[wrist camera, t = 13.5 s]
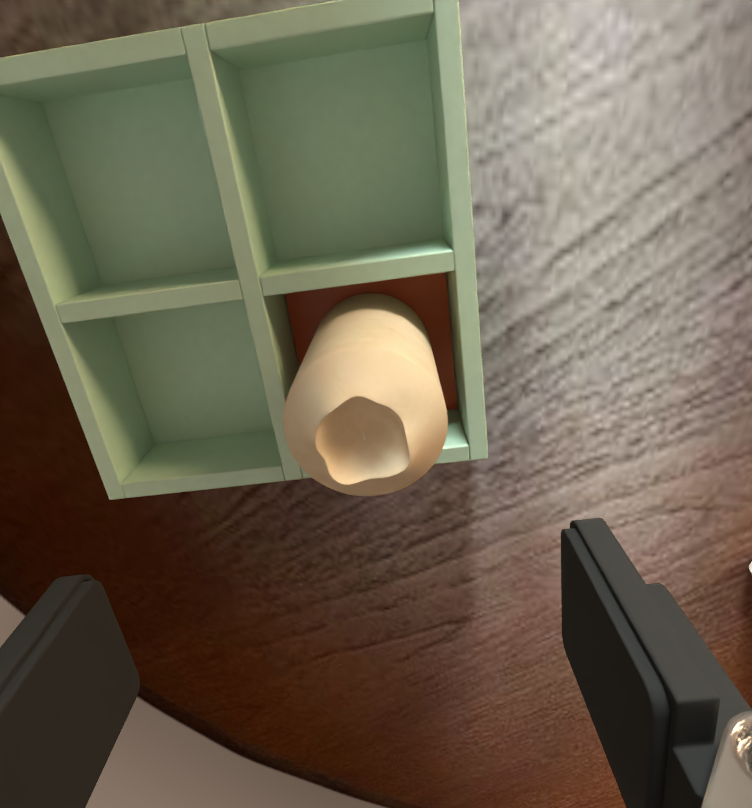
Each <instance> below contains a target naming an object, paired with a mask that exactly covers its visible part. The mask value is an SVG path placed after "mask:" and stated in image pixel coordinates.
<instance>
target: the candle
mask: <svg viewBox="0 0 752 808" xmlns="http://www.w3.org/2000/svg"><path fill="white" fill-rule="evenodd" d="M283 427H284V434H285V438H286V442H287V444H288V447H289V449H290V451H291V453H292V455H293V457H294V458H295V460H296V461H297V463H298V464H299V465H300V466H301V468H302V469H303V470H304V471H305V472H306V473H307V474H308V475H310V476H311V477H312V478H313V479H315V480H316V481H318V482H319V483H321V484H323V485H324V486H326V487H329V488H331V489H333V490H336V491H339V492H342V493H346V494H350V495H357V496H376V495H384V494H388V493H392V492H395V491H398V490H400V489H403V488H405V487H407V486H409V485H411V484H412V483H414V482H415V481H417V480H418V479H420V478H421V477H422V476H423V475H424V474H425V473H427V471H428V470H429V469H430V468H431V467H432V466H433V465H434V463H435V462H436V460H437V459H438V457H439V455H440V453H441V451H442V449H443V446H444V443H445V440H446V435H447V430H448V417H447V409H446V405H445V401H444V397H443V393H442V388H441V384H440V380H439V376H438V372H437V368H436V364H435V360H434V356H433V352H432V348H431V344H430V340H429V336H428V333H427V331H426V328H425V326H424V324H423V322H422V321H421V319H420V318H419V316H418V315H417V314H416V313H415V312H414V311H413V310H412V309H411V308H410V307H409V306H407V305H406V304H405V303H403V302H402V301H400V300H398V299H396V298H394V297H391V296H388V295H384V294H377V293H365V294H359V295H355V296H352V297H349V298H347V299H345V300H343V301H341V302H340V303H338V304H336V305H335V306H334V307H333V308H332V309H330V311H329V312H328V313H327V314H326V315H325V316H324V318H323V319H322V321H321V322H320V324H319V326H318V328H317V330H316V332H315V334H314V336H313V339H312V341H311V343H310V345H309V348H308V350H307V352H306V355H305V357H304V359H303V361H302V364H301V366H300V368H299V370H298V373H297V375H296V377H295V379H294V382H293V384H292V386H291V389H290V391H289V393H288V396H287V399H286V402H285V407H284V412H283Z"/></svg>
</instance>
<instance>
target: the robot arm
mask: <svg viewBox="0 0 752 808" xmlns="http://www.w3.org/2000/svg"><path fill="white" fill-rule="evenodd" d="M561 589H562V638H563V644H564V648H565V651H566V654H567V657H568V659H569V662H570V665H571V667H572V670H573V672H574V675H575V677H576V680H577V682H578V685H579V687H580V690H581V693H582V695H583V698H584V700H585V703H586V705H587V708H588V710H589V713H590V716H591V718H592V721H593V723H594V726H595V728H596V731H597V733H598V736H599V738H600V741H601V744H602V746H603V749H604V751H605V754H606V756H607V759H608V761H609V764H610V767H611V769H612V772H613V774H614V777H615V779H616V782H617V784H618V787H619V789H620V792H621V795H622V797H623V800H624V802H625V805H626V807H627V808H752V709H751V708H750V707H749V705H748V704H747V702H746V701H745V699H744V698H743V697H742V695H741V694H740V692H739V691H738V689H737V688H736V687H735V685H734V684H733V682H732V681H731V679H730V678H729V677H728V675H727V674H726V672H725V671H724V669H723V668H722V667H721V665H720V664H719V662H718V661H717V659H716V658H715V656H714V655H713V654H712V652H711V651H710V649H709V648H708V646H707V645H706V644H705V642H704V641H703V639H702V638H701V636H700V635H699V634H698V632H697V631H696V629H695V628H694V626H693V625H692V624H691V622H690V621H689V619H688V618H687V616H686V615H685V614H684V612H683V611H682V609H681V608H680V606H679V605H678V604H677V602H676V601H675V599H674V598H673V596H672V595H671V594H670V592H669V591H668V590H667V589H666V587H665V586H664V585H662V584H660V583H653V584H645V582H644V580H643V579H642V577H641V576H640V574H639V573H638V571H637V570H636V568H635V567H634V565H633V564H632V562H631V561H630V559H629V558H628V556H627V555H626V553H625V551H624V550H623V548H622V547H621V545H620V544H619V542H618V541H617V539H616V538H615V536H614V535H613V533H612V532H611V530H610V529H609V527H608V525H607V524H606V522H605V521H604V520H603V519H602V518H593V519H584V520H575V521H572V522H571V523H570V529H563V530H562V531H561ZM139 687H140V677H139V674H138V671H137V669H136V666H135V664H134V661H133V659H132V656H131V654H130V652H129V649H128V647H127V644H126V642H125V639H124V637H123V634H122V632H121V629H120V627H119V625H118V622H117V620H116V617H115V615H114V612H113V610H112V607H111V605H110V602H109V600H108V598H107V595H106V593H105V590H104V588H103V586H102V584H101V582H99V581H96V580H94V578H93V577H92V576H91V575H88V574H84V575H74V576H65V577H60V578H57V579H56V580H55V581H54V582H53V583H52V584H51V585H50V587H49V588H48V589H47V590H46V592H45V593H44V594H43V595H42V597H41V598H40V599H39V600H38V602H37V603H36V604H35V605H34V607H33V608H32V609H31V610H30V612H29V613H28V614H27V615H26V616H25V618H24V619H23V620H22V622H21V623H20V624H19V625H18V627H17V628H16V629H15V630H14V631H13V633H12V634H11V635H10V637H9V638H8V639H7V640H6V641H5V643H4V644H3V645H2V646H1V648H0V808H85V807H86V804H87V802H88V800H89V798H90V796H91V793H92V792H93V789H94V787H95V785H96V783H97V781H98V779H99V776H100V774H101V772H102V770H103V768H104V766H105V764H106V762H107V759H108V757H109V755H110V753H111V750H112V749H113V746H114V744H115V742H116V740H117V738H118V736H119V734H120V732H121V729H122V727H123V725H124V723H125V721H126V719H127V716H128V714H129V712H130V710H131V708H132V706H133V704H134V702H135V699H136V697H137V695H138V692H139Z"/></svg>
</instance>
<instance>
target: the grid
mask: <svg viewBox="0 0 752 808" xmlns="http://www.w3.org/2000/svg"><path fill="white" fill-rule="evenodd" d="M0 214H1V217H2V219H3V222H4V225H5V227H6V230H7V232H8V235H9V238H10V240H11V243H12V246H13V248H14V251H15V253H16V256H17V259H18V261H19V264H20V267H21V269H22V272H23V274H24V277H25V280H26V282H27V285H28V287H29V290H30V293H31V295H32V298H33V301H34V303H35V306H36V308H37V311H38V314H39V316H40V319H41V322H42V324H43V327H44V329H45V332H46V335H47V337H48V340H49V343H50V345H51V348H52V350H53V353H54V356H55V358H56V361H57V363H58V366H59V369H60V371H61V374H62V377H63V379H64V382H65V384H66V387H67V390H68V392H69V395H70V398H71V400H72V403H73V405H74V408H75V411H76V413H77V416H78V418H79V421H80V424H81V426H82V429H83V432H84V434H85V437H86V439H87V442H88V445H89V447H90V450H91V453H92V455H93V458H94V460H95V463H96V466H97V468H98V471H99V473H100V476H101V479H102V481H103V484H104V487H105V489H106V492H107V494H108V497H109V499H110V500H114V499H123V498H132V497H141V496H150V495H159V494H169V493H178V492H187V491H196V490H205V489H214V488H224V487H233V486H242V485H251V484H260V483H270V482H279V481H285V479H286V480H297V479H302V478H304V479H305V478H312V477H311V476H310V475H308V474H307V473H306V472H305V471H304V470H303V469H302V468H301V466H300V465H299V464H298V463H297V461H296V460H295V458H294V457H293V455H292V453H291V451H290V449H289V447H288V444H287V442H286V438H285V434H284V427H283V412H284V407H285V402H286V399H287V396H288V393H289V391H290V389H291V386H292V384H293V382H294V379H295V377H296V375H297V373H298V370H299V368H300V366H301V364H302V361H303V359H304V357H305V355H306V352H307V350H308V348H309V345H310V343H311V341H312V339H313V336H314V334H315V332H316V330H317V328H318V326H319V324H320V322H321V321H322V319H323V318H324V316H325V315H326V314H327V313H328V312H329V311H330V309H332V308H333V307H334V306H335V305H336V304H338V303H340V302H341V301H343V300H345V299H347V298H349V297H352V296H355V295H359V294H365V293H377V294H384V295H388V296H391V297H394V298H396V299H398V300H400V301H402V302H403V303H405V304H406V305H407V306H409V307H410V308H411V309H412V310H413V311H414V312H415V313H416V314H417V315H418V316H419V318H420V319H421V321H422V322H423V324H424V326H425V328H426V331H427V333H428V336H429V340H430V344H431V348H432V352H433V356H434V360H435V364H436V368H437V372H438V376H439V380H440V384H441V388H442V393H443V397H444V401H445V405H446V409H447V417H448V430H447V435H446V440H445V443H444V446H443V449H442V451H441V453H440V455H439V457H438V459H437V460H436V462H435V463H434V464H443V463H452V462H462V461H469V460H481V459H487V458H488V446H487V431H486V415H485V400H484V384H483V369H482V354H481V338H480V323H479V307H478V292H477V277H476V261H475V246H474V230H473V215H472V200H471V184H470V169H469V153H468V138H467V123H466V107H465V92H464V76H463V61H462V46H461V30H460V15H459V0H335V1H329V2H323V3H317V4H311V5H306V6H300V7H294V8H288V9H282V10H276V11H271V12H265V13H259V14H253V15H247V16H242V17H236V18H230V19H224V20H218V21H213V22H207V23H205V25H204V24H202V23H200V24H195V25H189V26H183V27H181V28H180V27H176V28H170V29H165V30H159V31H153V32H147V33H141V34H135V35H130V36H124V37H118V38H112V39H106V40H101V41H95V42H89V43H83V44H77V45H72V46H66V47H60V48H54V49H48V50H43V51H37V52H31V53H25V54H19V55H14V56H8V57H2V58H0Z"/></svg>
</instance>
